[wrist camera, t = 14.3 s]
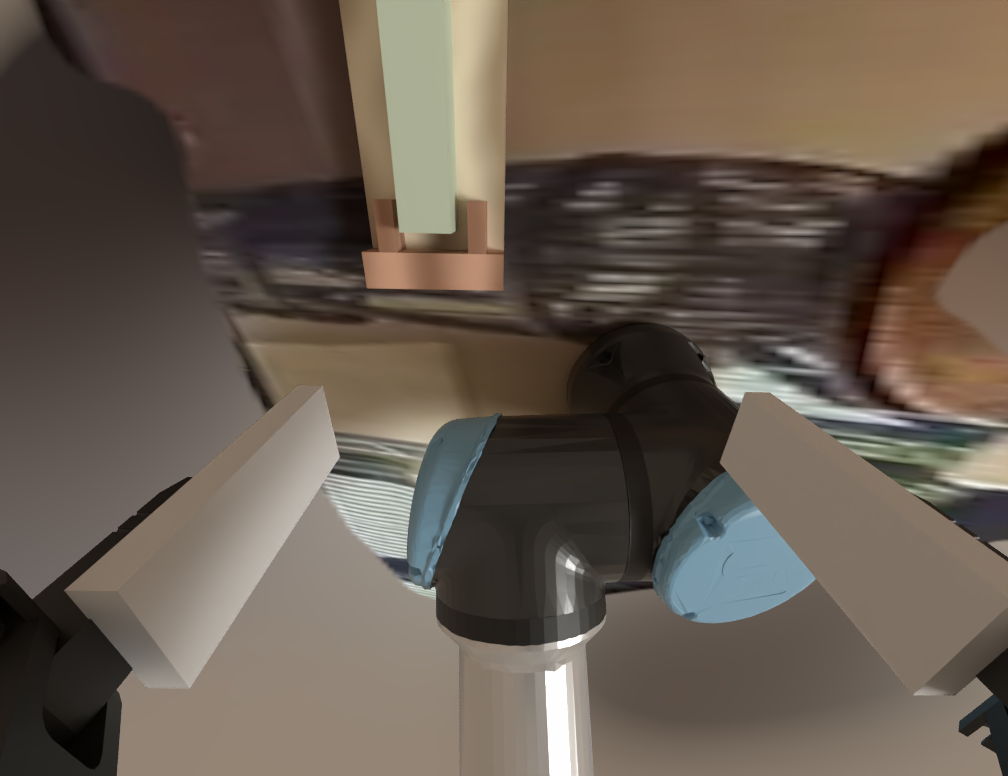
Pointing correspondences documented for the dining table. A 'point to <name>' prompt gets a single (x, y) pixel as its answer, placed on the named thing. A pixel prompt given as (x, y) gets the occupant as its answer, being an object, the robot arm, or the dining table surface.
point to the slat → (420, 111)
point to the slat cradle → (479, 154)
